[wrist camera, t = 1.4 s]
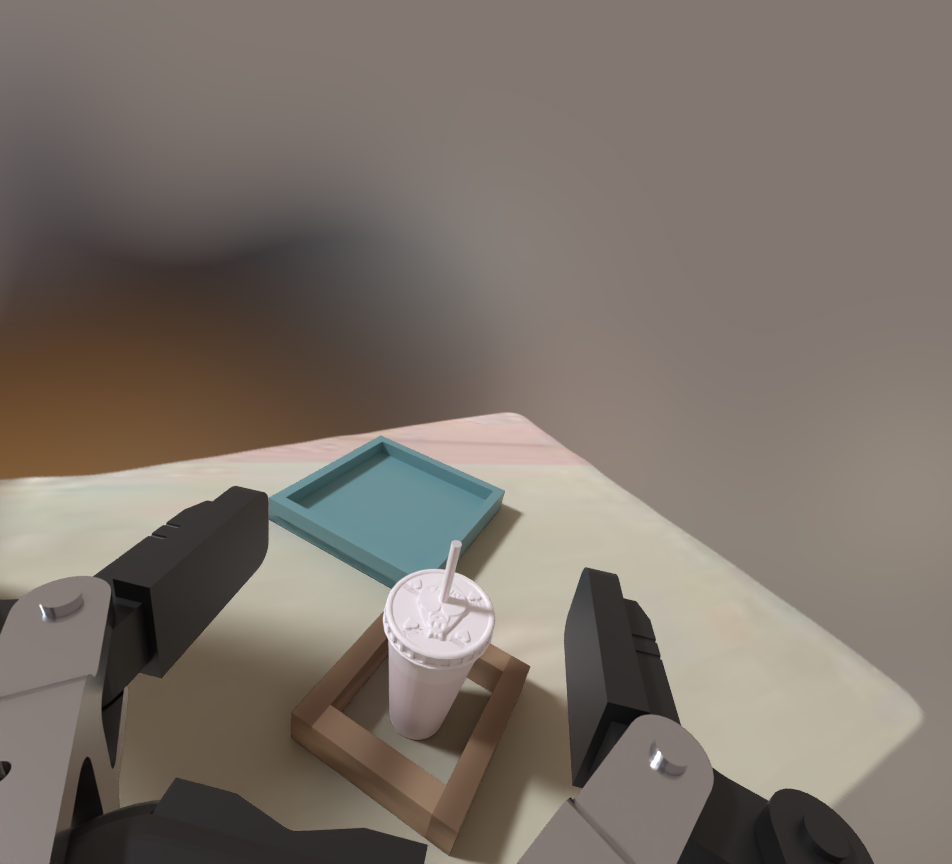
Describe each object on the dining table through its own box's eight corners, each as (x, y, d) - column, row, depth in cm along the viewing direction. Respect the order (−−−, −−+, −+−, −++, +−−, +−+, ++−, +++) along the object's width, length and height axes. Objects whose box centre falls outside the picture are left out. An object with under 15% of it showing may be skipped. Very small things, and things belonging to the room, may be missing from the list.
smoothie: (469, 676, 33) (515, 526, 27) (458, 774, 28) (513, 611, 21) (382, 658, 33) (409, 502, 27) (354, 751, 28) (379, 582, 21)
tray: (268, 519, 43) (268, 497, 42) (378, 452, 58) (380, 435, 57) (420, 605, 38) (424, 583, 37) (500, 508, 52) (505, 490, 51)
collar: (290, 737, 28) (291, 712, 26) (396, 615, 37) (400, 592, 36) (448, 855, 24) (457, 832, 23) (521, 688, 33) (530, 666, 32)
